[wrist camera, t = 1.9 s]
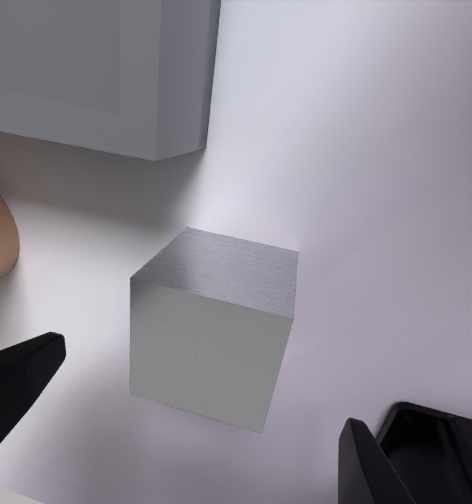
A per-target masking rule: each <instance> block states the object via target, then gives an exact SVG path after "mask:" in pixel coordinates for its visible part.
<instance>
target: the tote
mask: <svg viewBox="0 0 472 504" xmlns="http://www.w3.org/2000/svg"><path fill="white" fill-rule="evenodd" d="M220 4H221V0H0V132H5V133H10V134H15V135H20V136H26V137H31V138H36V139H41V140H46V141H52V142H57V143H62V144H67V145H73V146H78V147H83V148H88V149H93V150H99V151H104V152H109V153H114V154H119V155H125V156H130V157H135V158H140V159H146V160H151V161H159V160H163V159H167V158H171V157H174V156H178V155H182V154H186V153H190V152H194V151H198V150H201V149H205V148H206V143H207V133H208V123H209V113H210V104H211V94H212V84H213V74H214V64H215V54H216V44H217V34H218V24H219V14H220Z"/></svg>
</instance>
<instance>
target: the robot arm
mask: <svg viewBox="0 0 472 504" xmlns="http://www.w3.org/2000/svg"><path fill="white" fill-rule="evenodd" d="M65 357H66V347H65V338H64V336H63V335H62V334H59V333H55V332H48V333H45V334H43V335H40V336H37V337H35V338H32V339H29V340H27V341H24V342H21V343H19V344H16V345H13V346H11V347H8V348H6V349H3V350H0V443H1V442H2V441H3V440H4V438H5V437H6V436H7V435H8V434H9V433H10V431H11V430H12V429H13V428H14V427H15V425H16V424H17V423H18V422H19V421H20V420H21V418H22V417H23V416H24V415H25V414H26V413H27V411H28V410H29V409H30V408H31V406H32V405H33V404H34V402H35V401H36V400H37V398H38V397H39V396H40V394H41V393H42V391H43V390H44V389H45V387H46V386H47V384H48V383H49V382H50V380H51V379H52V377H53V376H54V374H55V373H56V372H57V370H58V369H59V367H60V366H61V365H62V363H63V362H64V360H65ZM338 504H472V419H468V418H464V417H461V416H457V415H453V414H450V413H446V412H442V411H439V410H435V409H431V408H428V407H424V406H420V405H416V404H413V403H409V402H400V403H398V404H396V405H395V406H394V408H393V410H392V412H391V414H390V415H389V417H388V419H387V421H386V423H385V425H384V427H383V429H382V431H381V433H380V435H379V436H378V438H377V440H375V438H374V436H373V435H372V433H371V432H370V430H369V428H368V427H367V425H366V424H365V423H364V422H363V421H361V420H358V419H354V418H348V419H347V421H346V423H345V425H344V428H343V430H342V432H341V435H340V438H339V454H338Z"/></svg>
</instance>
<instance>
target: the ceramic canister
mask: <svg viewBox="0 0 472 504" xmlns="http://www.w3.org/2000/svg"><path fill="white" fill-rule="evenodd" d="M19 245H20V243H19V235H18V230H17V226H16V223H15V220H14V218H13V216H12V214H11V211H10V209H9V208H8V206H7V204H6V202H5V201H4V199H3V198H2V197H1V195H0V277H2V276H4V275H6V274H7V273H8V272H10V271H11V270H12V268H13V267H14V265H15V264H16V262H17V259H18V255H19Z"/></svg>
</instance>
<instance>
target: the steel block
mask: <svg viewBox="0 0 472 504" xmlns="http://www.w3.org/2000/svg"><path fill="white" fill-rule="evenodd" d="M297 264H298V252H297V251H293V250H288V249H284V248H279V247H275V246H270V245H266V244H261V243H257V242H252V241H248V240H243V239H239V238H234V237H229V236H225V235H220V234H216V233H211V232H207V231H202V230H198V229H193V228H189V227H187V228H186V229H185V230H184V231H183V232H182V233H181V234H179V235H178V236H177V237H176V238H175V239H174V240H173V241H171V242H170V243H169V244H168V245H167V246H166V247H165V248H163V249H162V250H161V251H160V252H159V253H158V254H157V255H155V256H154V257H153V258H152V259H151V260H150V261H149V262H148V263H146V264H145V265H144V266H143V267H142V268H141V269H140V270H138V271H137V272H136V273H135V274H134V275H133V276H132V277H130V394H133V395H137V396H140V397H143V398H146V399H150V400H153V401H156V402H160V403H163V404H166V405H169V406H173V407H176V408H179V409H182V410H186V411H189V412H192V413H196V414H199V415H202V416H205V417H209V418H212V419H215V420H218V421H222V422H225V423H228V424H231V425H235V426H238V427H241V428H245V429H248V430H251V431H254V432H258V433H262V430H263V426H264V423H265V419H266V415H267V412H268V408H269V405H270V401H271V398H272V394H273V390H274V387H275V383H276V380H277V376H278V373H279V369H280V366H281V362H282V358H283V355H284V351H285V348H286V344H287V341H288V337H289V333H290V330H291V326H292V323H293V319H294V306H295V292H296V278H297Z"/></svg>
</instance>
